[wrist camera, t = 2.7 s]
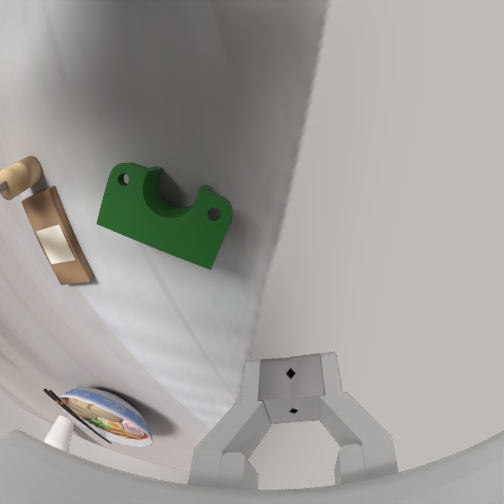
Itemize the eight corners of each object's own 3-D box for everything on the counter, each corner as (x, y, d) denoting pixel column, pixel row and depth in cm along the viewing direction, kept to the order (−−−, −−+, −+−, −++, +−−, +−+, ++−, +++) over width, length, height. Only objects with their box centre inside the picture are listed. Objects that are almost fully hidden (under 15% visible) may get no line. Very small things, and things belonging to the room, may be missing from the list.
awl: (20, 161, 25) (-30, 189, 18) (36, 152, 25) (-17, 179, 17) (28, 186, 27) (-19, 219, 20) (45, 179, 27) (-5, 212, 19)
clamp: (221, 185, 31) (255, 211, 24) (202, 233, 33) (228, 273, 26) (116, 152, 25) (111, 168, 18) (100, 207, 27) (92, 244, 19)
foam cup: (58, 419, 73) (47, 446, 62) (52, 409, 69) (40, 439, 58) (80, 429, 74) (70, 457, 63) (75, 421, 70) (64, 451, 59)
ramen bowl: (177, 428, 58) (171, 457, 51) (103, 416, 61) (95, 440, 54) (127, 370, 45) (113, 407, 38) (49, 360, 48) (34, 387, 41)
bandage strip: (27, 197, 28) (20, 201, 27) (54, 185, 27) (48, 189, 26) (65, 279, 35) (60, 285, 34) (94, 276, 34) (89, 282, 33)
